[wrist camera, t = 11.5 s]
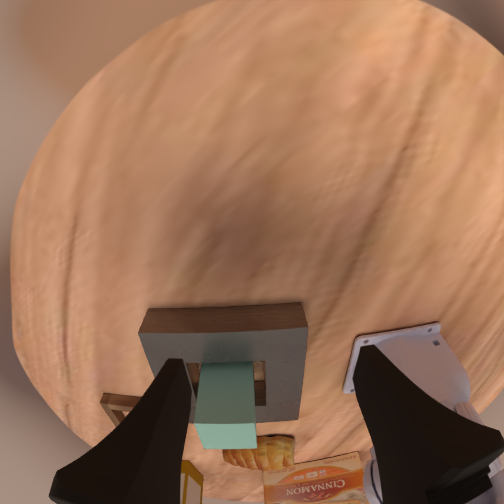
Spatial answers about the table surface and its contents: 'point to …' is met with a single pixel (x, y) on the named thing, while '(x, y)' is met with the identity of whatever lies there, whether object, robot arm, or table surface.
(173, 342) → the socket block
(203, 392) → the teal peg
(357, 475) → the coffeecake box
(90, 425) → the table surface
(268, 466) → the pastry
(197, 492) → the soap bottle
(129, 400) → the stand frame
